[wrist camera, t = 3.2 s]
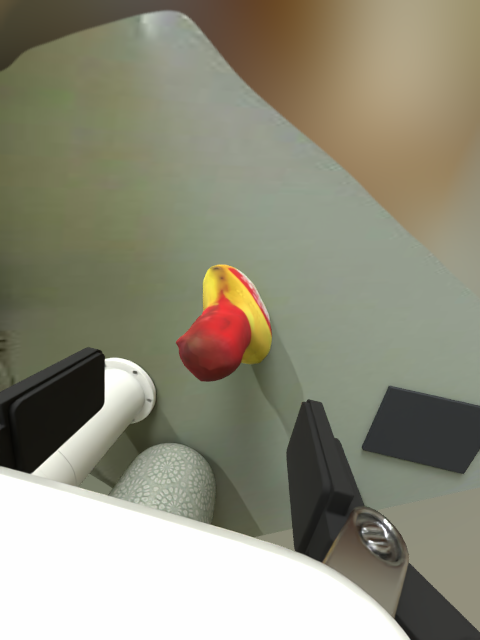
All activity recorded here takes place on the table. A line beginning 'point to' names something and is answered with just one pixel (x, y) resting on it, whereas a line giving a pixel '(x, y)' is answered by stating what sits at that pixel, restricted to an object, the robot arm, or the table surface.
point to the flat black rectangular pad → (425, 430)
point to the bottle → (226, 326)
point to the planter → (170, 482)
